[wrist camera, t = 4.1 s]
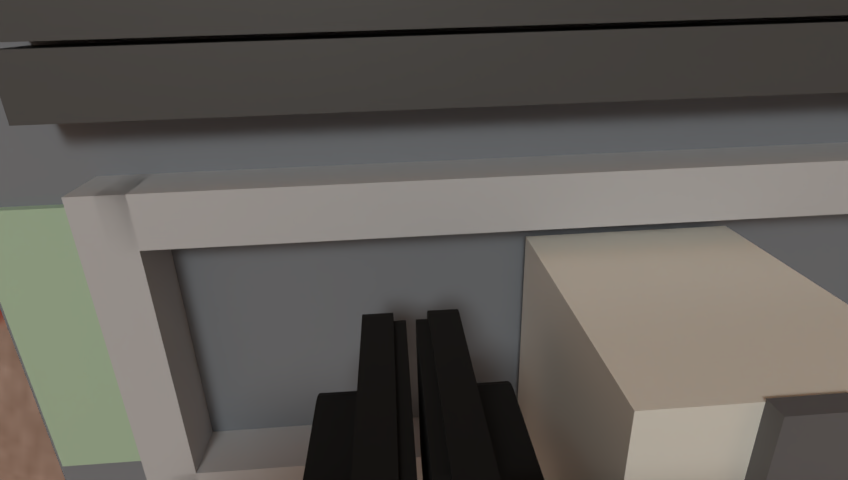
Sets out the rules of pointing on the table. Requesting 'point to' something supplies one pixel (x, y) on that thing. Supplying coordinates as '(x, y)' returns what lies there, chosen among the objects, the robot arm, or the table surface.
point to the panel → (366, 190)
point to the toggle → (680, 360)
